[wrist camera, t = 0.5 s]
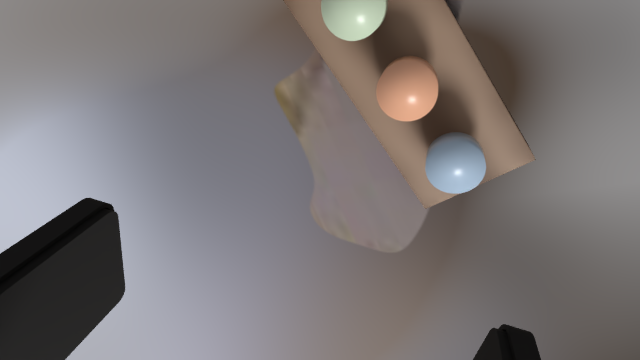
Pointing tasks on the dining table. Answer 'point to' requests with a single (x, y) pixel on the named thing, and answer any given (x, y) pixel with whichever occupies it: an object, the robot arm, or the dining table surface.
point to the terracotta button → (407, 88)
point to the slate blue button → (455, 163)
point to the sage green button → (353, 17)
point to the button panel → (453, 88)
